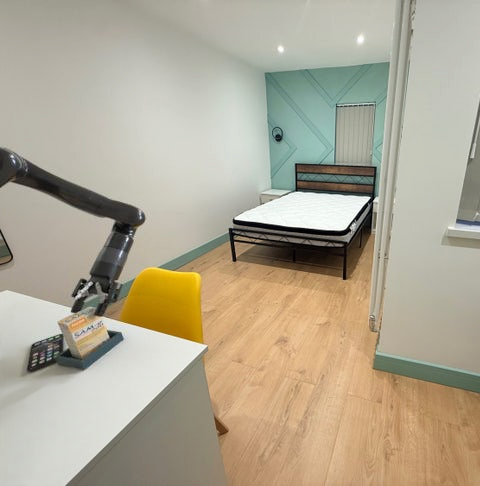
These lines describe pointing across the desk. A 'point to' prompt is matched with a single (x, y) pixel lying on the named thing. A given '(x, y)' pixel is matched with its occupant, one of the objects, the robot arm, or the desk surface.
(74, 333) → the supplement box
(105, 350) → the pad dock
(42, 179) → the robot arm
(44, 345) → the smartphone
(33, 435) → the desk surface
